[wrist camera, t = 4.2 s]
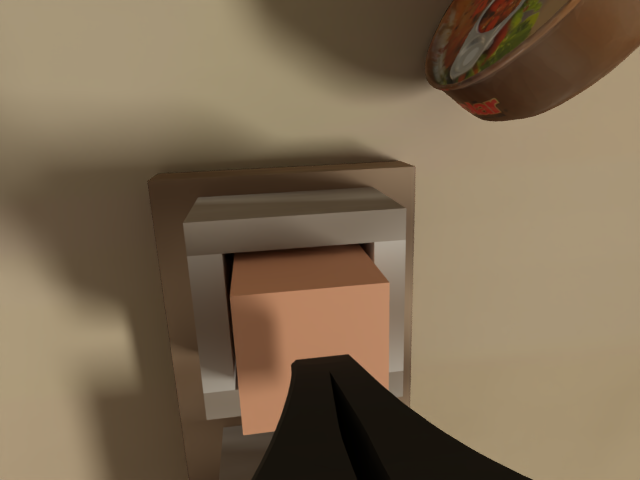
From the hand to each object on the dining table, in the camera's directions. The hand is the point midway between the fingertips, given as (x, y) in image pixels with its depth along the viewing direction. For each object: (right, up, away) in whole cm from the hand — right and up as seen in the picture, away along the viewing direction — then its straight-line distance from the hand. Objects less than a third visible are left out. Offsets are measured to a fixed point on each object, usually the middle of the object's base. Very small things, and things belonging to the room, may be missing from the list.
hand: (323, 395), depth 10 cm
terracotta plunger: (-1, +2, +5) cm, 5 cm away
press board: (-1, -2, +11) cm, 11 cm away
